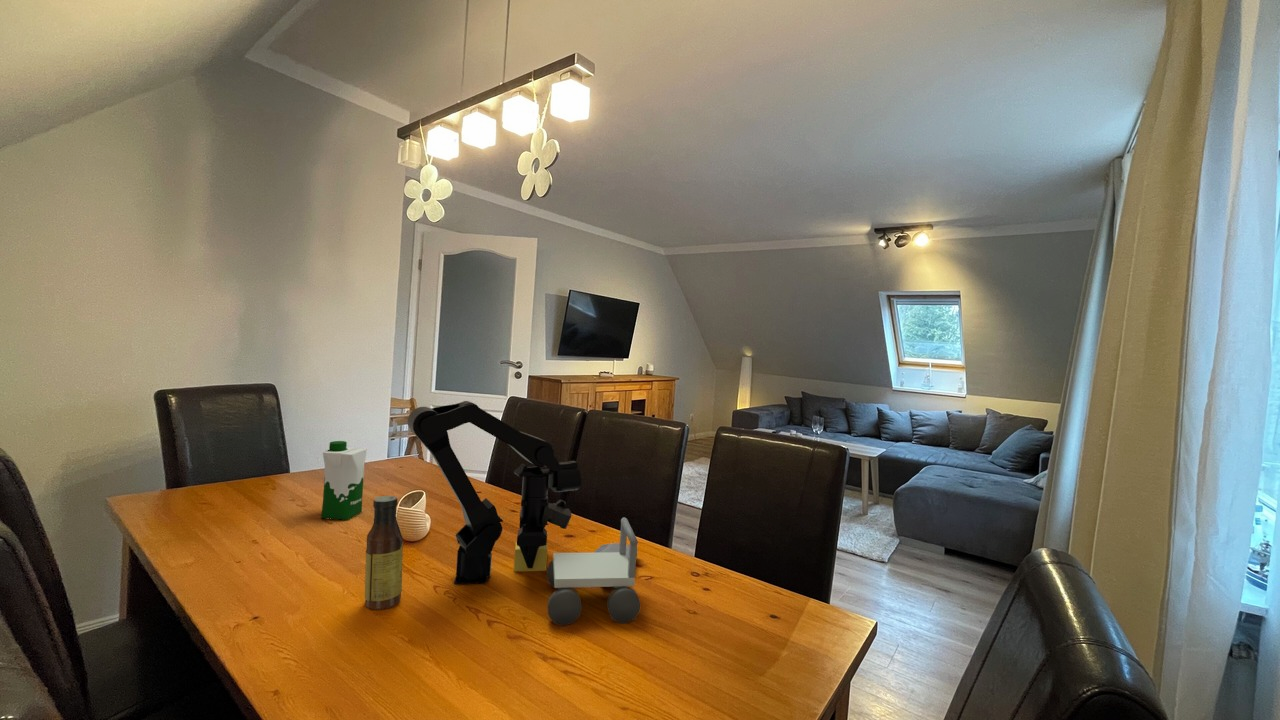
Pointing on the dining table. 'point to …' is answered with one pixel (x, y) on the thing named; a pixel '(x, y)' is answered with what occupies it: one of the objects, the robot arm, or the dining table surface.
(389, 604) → the sauce bottle
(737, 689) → the dining table surface
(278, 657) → the dining table surface
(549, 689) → the dining table surface
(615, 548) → the stone block
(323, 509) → the milk carton
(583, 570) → the trolley
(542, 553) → the chock
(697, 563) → the dining table surface
